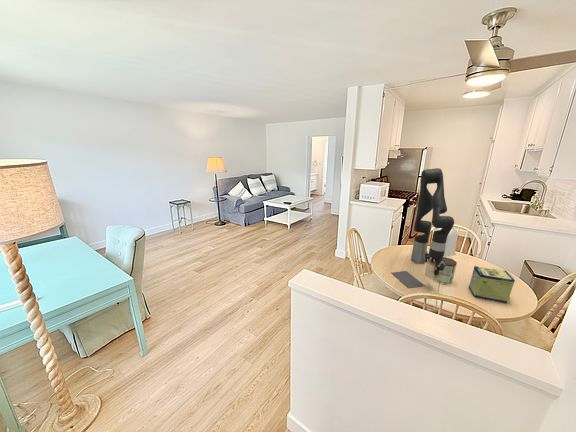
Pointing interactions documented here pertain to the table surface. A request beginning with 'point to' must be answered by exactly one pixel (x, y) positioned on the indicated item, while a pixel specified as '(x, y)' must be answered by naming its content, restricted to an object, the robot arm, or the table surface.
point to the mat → (407, 279)
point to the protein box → (491, 284)
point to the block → (431, 270)
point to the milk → (450, 242)
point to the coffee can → (447, 271)
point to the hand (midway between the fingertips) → (432, 272)
